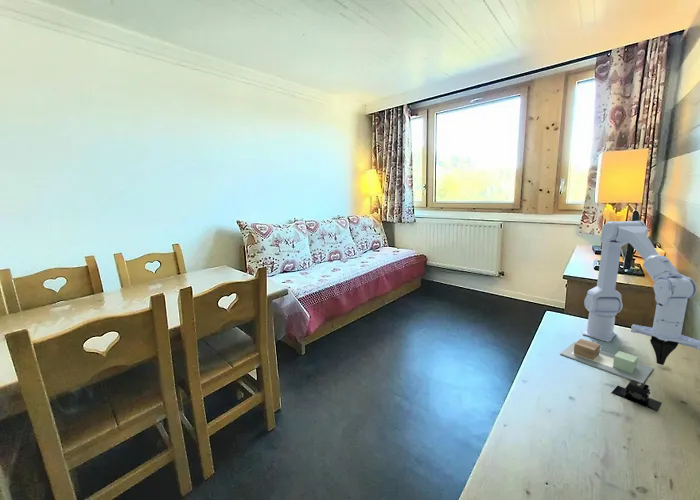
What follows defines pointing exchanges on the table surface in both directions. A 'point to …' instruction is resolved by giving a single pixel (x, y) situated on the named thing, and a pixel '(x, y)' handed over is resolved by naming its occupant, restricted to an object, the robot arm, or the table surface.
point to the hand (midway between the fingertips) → (660, 363)
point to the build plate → (610, 364)
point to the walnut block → (587, 349)
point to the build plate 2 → (637, 395)
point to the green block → (625, 361)
